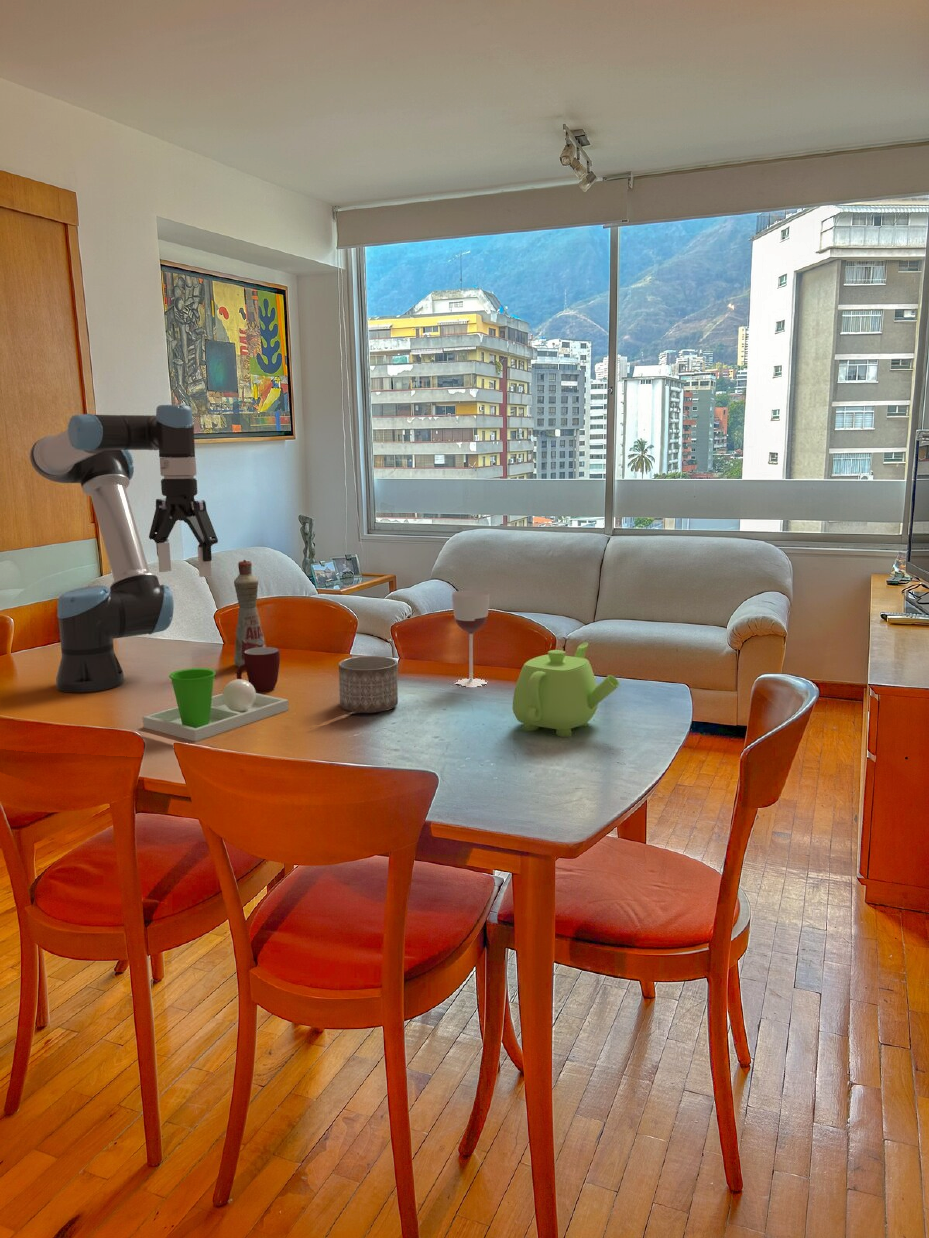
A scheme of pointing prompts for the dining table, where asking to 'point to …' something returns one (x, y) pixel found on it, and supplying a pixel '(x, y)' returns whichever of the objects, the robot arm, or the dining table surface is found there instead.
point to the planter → (368, 684)
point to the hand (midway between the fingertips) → (184, 573)
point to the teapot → (559, 692)
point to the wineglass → (470, 622)
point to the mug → (261, 667)
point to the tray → (215, 718)
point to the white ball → (239, 695)
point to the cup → (193, 695)
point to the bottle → (247, 613)
